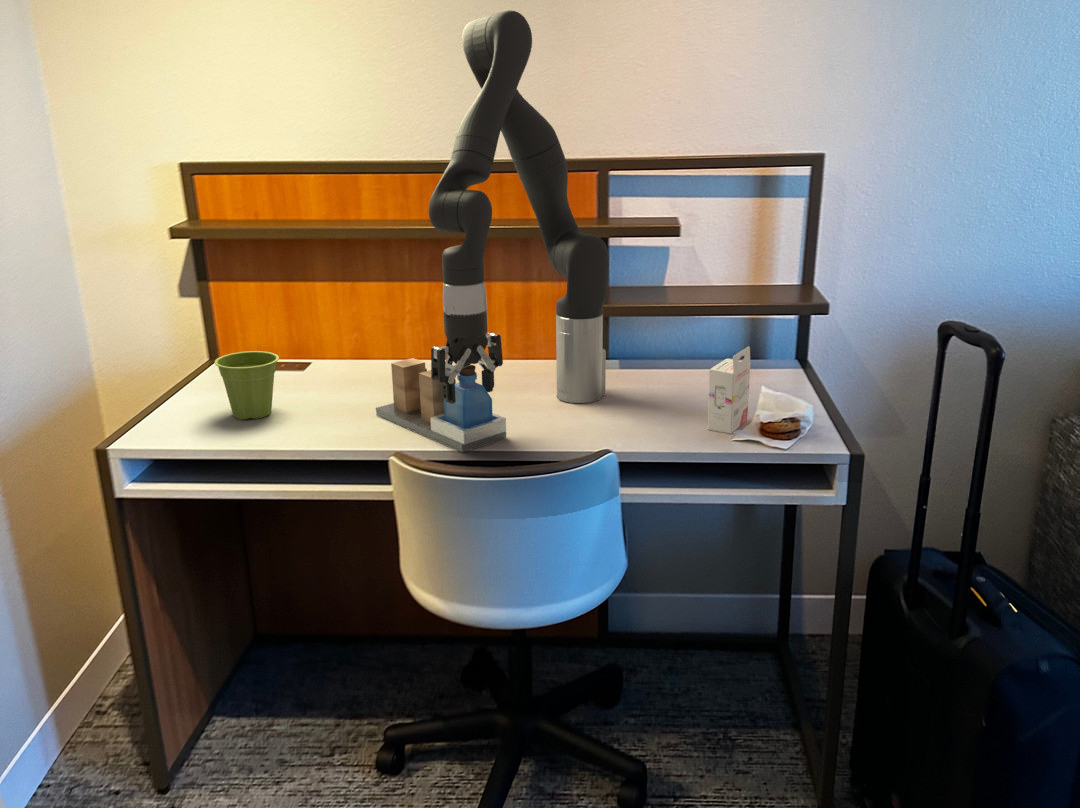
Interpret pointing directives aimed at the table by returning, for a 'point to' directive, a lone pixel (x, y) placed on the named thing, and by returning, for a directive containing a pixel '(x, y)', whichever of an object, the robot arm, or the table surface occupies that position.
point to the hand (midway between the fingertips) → (469, 396)
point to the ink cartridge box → (729, 393)
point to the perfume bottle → (469, 401)
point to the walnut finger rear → (407, 384)
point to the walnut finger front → (430, 396)
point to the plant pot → (249, 382)
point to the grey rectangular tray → (447, 428)
